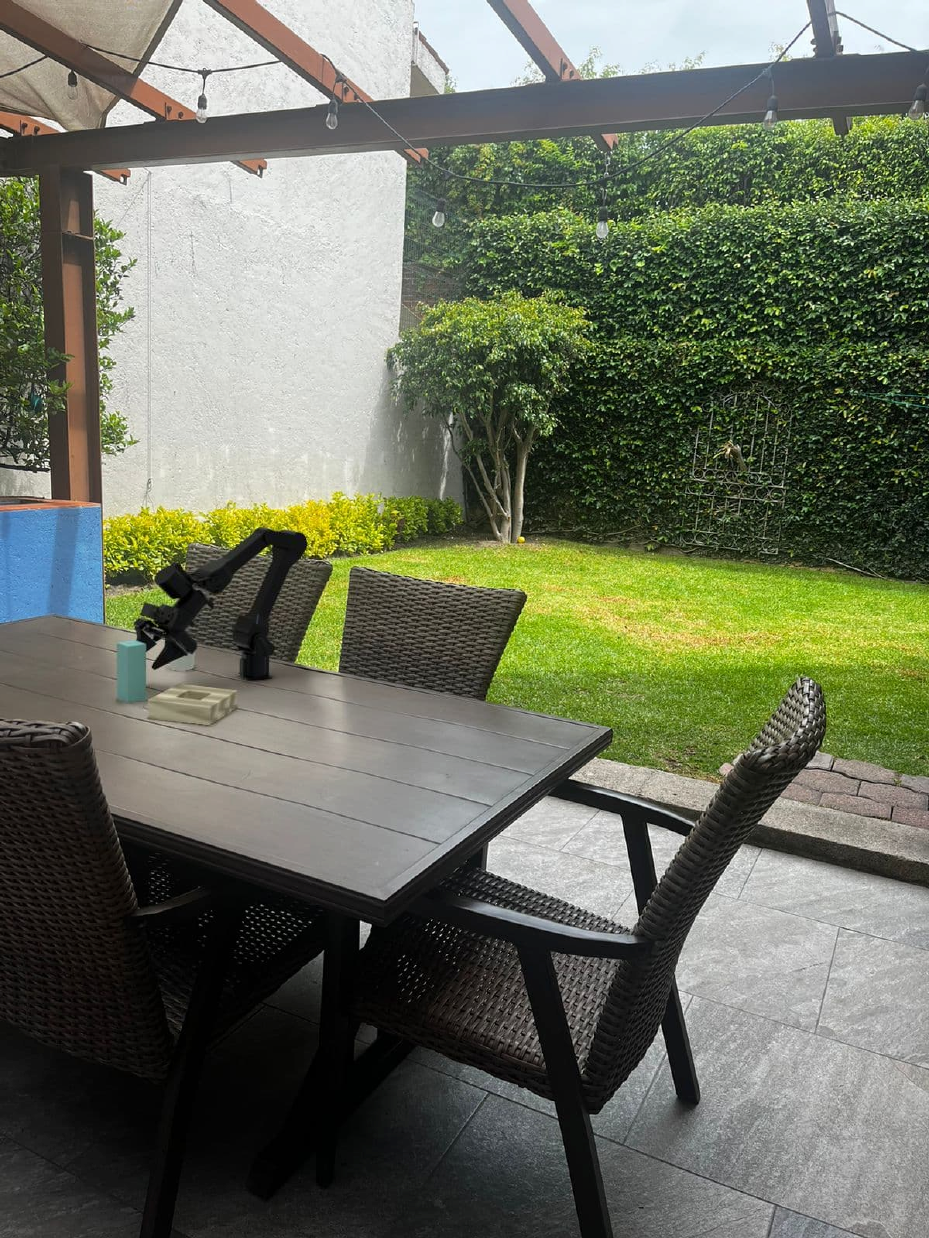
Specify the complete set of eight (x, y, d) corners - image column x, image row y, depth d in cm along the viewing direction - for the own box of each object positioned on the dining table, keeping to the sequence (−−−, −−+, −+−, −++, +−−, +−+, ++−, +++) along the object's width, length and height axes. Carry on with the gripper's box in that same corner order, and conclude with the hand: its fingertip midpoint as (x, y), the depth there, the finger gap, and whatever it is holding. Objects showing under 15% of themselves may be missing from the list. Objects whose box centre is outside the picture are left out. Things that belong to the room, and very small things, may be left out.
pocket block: (179, 700, 208) (179, 683, 208) (237, 707, 206) (237, 690, 205) (147, 718, 195) (147, 700, 194) (209, 725, 192) (209, 707, 192)
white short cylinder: (191, 672, 232) (191, 646, 231) (164, 670, 232) (164, 644, 231) (199, 666, 239) (199, 640, 237) (173, 664, 239) (173, 638, 237)
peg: (135, 695, 210) (135, 640, 208) (146, 699, 207) (146, 644, 205) (117, 698, 207) (116, 642, 204) (127, 703, 204) (127, 646, 201)
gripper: (140, 583, 214) (96, 635, 208) (185, 596, 202) (140, 651, 196) (170, 612, 221) (128, 663, 215) (215, 626, 210) (173, 681, 204)
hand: (141, 664), depth 207 cm, fingers open, 9 cm apart
